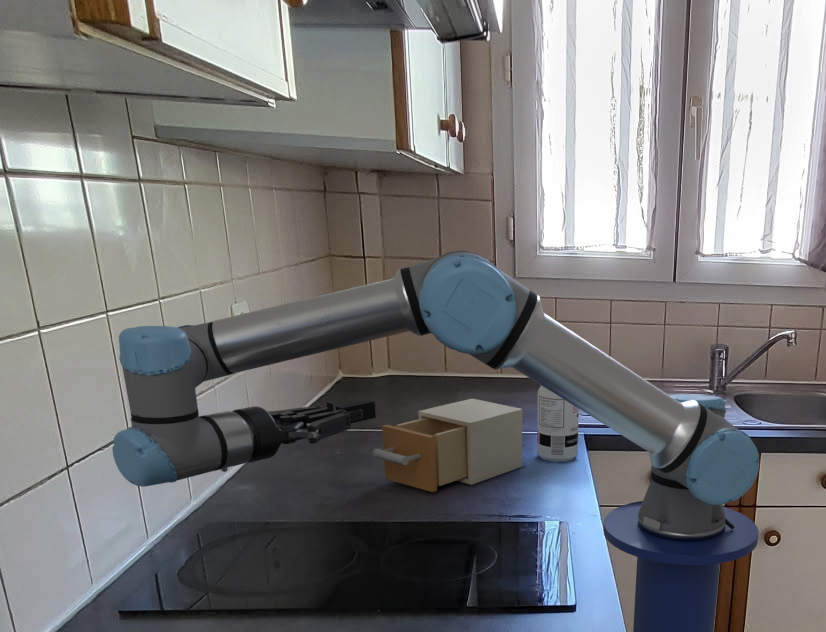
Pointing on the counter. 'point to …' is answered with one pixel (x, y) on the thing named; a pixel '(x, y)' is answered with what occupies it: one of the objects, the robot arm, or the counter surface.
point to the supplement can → (556, 427)
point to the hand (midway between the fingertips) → (371, 408)
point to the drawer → (424, 453)
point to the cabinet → (485, 435)
